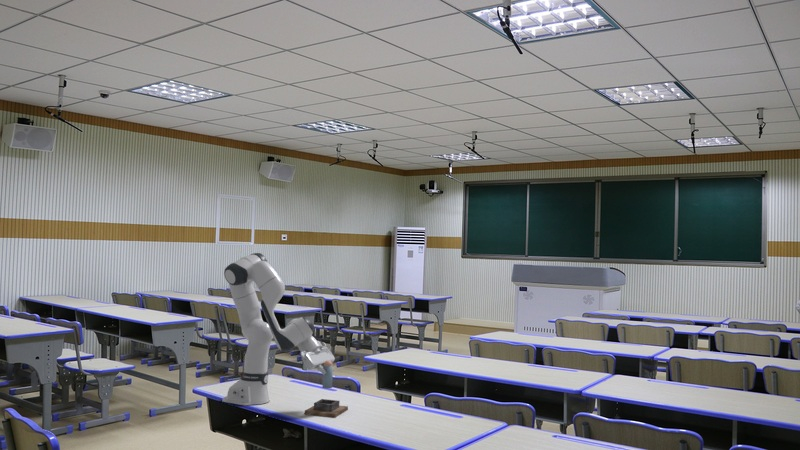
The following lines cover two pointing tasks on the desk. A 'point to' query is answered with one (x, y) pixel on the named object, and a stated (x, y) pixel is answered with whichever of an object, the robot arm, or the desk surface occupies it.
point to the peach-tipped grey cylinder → (327, 375)
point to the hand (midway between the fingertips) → (328, 372)
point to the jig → (326, 408)
